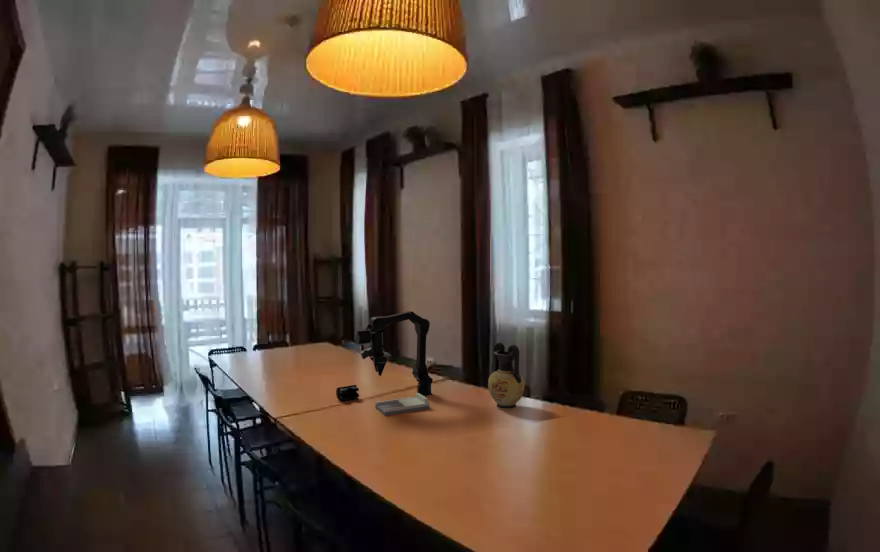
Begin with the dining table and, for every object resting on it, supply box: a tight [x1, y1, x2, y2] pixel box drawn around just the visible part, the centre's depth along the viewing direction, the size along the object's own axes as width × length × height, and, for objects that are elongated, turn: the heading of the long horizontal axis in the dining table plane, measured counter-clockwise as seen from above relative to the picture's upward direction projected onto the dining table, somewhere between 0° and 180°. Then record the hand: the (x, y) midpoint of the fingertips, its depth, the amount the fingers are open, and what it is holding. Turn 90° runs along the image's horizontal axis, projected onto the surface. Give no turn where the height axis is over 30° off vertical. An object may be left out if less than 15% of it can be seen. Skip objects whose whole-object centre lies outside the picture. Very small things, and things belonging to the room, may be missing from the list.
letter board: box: [374, 396, 430, 416], centre depth 241 cm, size 22×14×3 cm, turn 114°
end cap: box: [335, 384, 360, 403], centre depth 258 cm, size 10×7×7 cm
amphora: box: [487, 342, 526, 411], centre depth 238 cm, size 18×17×30 cm
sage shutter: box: [397, 392, 429, 406], centre depth 243 cm, size 11×11×3 cm
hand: (378, 373), depth 252 cm, fingers open, 9 cm apart
